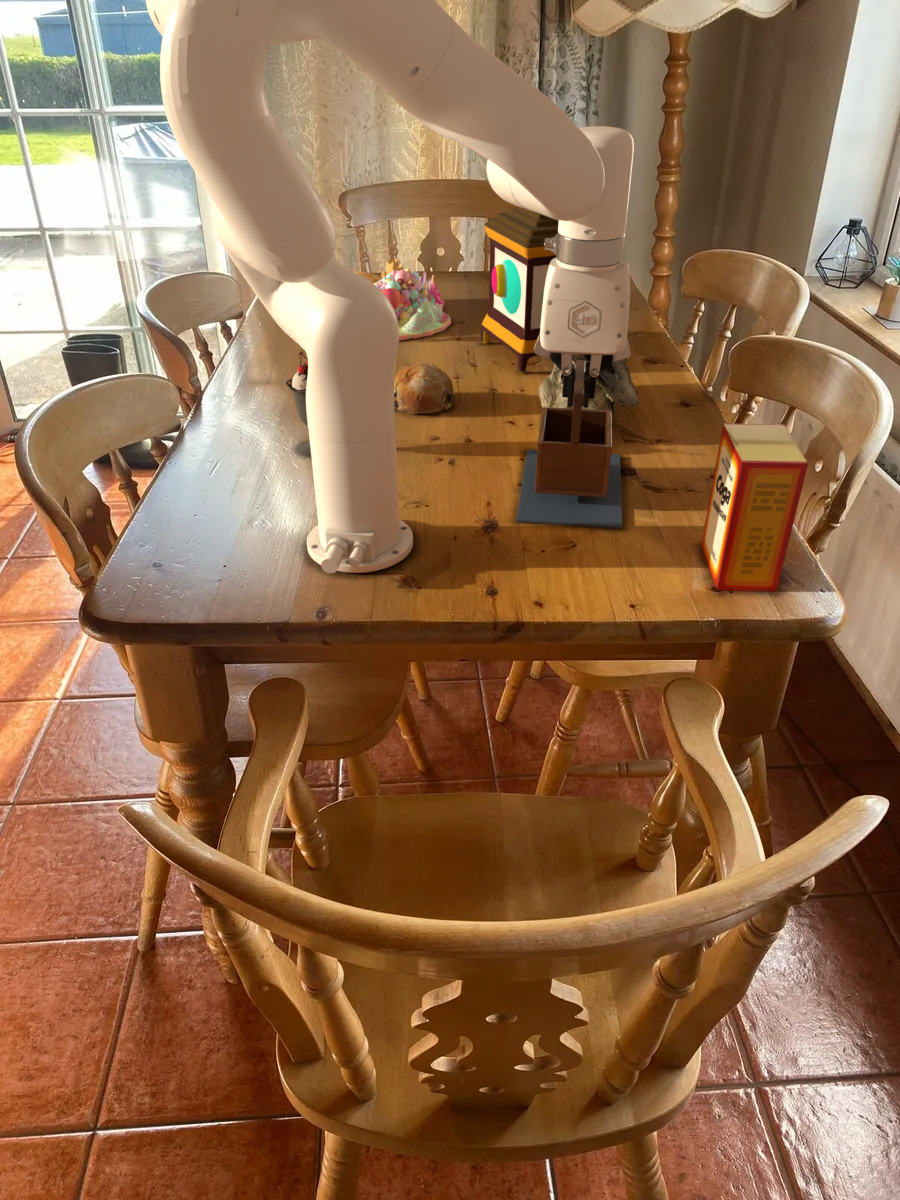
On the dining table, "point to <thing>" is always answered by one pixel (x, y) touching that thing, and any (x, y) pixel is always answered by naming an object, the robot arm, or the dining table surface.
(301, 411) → the sundae
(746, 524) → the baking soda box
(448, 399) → the bread roll
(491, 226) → the decorative lantern
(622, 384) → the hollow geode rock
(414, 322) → the candy landscape model
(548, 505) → the placemat
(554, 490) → the basket
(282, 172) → the robot arm
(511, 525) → the dining table surface
